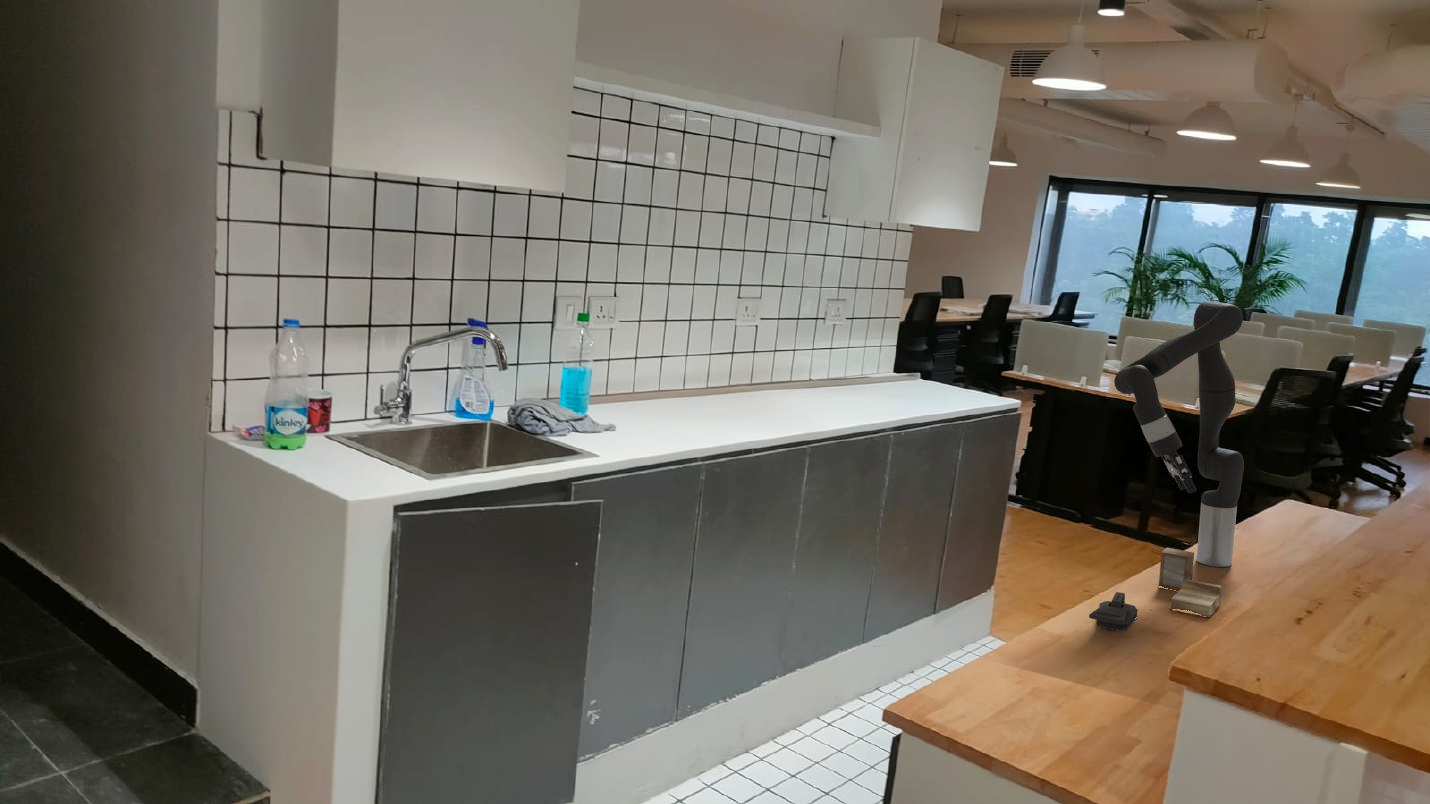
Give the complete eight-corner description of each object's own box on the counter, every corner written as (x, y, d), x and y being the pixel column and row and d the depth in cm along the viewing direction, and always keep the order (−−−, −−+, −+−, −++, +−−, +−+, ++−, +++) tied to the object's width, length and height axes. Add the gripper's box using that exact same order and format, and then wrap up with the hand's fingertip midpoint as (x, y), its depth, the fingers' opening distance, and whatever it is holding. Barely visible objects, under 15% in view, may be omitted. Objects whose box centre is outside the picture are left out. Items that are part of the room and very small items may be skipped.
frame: (1163, 583, 289) (1166, 547, 287) (1191, 588, 285) (1194, 552, 283) (1158, 588, 285) (1161, 552, 283) (1186, 593, 281) (1189, 557, 279)
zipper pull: (1085, 614, 248) (1102, 582, 270) (1084, 641, 249) (1101, 607, 271) (1126, 621, 244) (1140, 588, 265) (1124, 648, 245) (1138, 613, 267)
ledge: (1182, 597, 278) (1184, 578, 277) (1220, 604, 273) (1221, 585, 272) (1170, 610, 269) (1171, 591, 268) (1208, 618, 263) (1210, 598, 263)
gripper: (1181, 430, 276) (1210, 487, 275) (1168, 428, 290) (1195, 482, 289) (1153, 442, 278) (1182, 499, 277) (1142, 440, 292) (1169, 493, 291)
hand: (1189, 490), depth 283 cm, fingers open, 8 cm apart
